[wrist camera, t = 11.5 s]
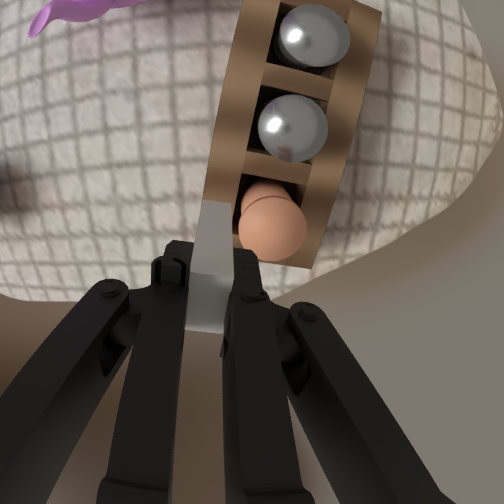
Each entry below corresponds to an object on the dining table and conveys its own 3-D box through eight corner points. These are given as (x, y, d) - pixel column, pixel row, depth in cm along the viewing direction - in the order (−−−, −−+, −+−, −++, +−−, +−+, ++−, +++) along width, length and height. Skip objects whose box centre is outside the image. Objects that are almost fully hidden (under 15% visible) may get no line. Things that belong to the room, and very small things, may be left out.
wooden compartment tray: (248, -11, 22) (250, -28, 17) (361, 21, 23) (382, 12, 19) (199, 229, 34) (194, 251, 30) (302, 246, 36) (311, 269, 32)
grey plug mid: (259, 88, 26) (266, 87, 20) (313, 101, 27) (335, 105, 21) (247, 141, 29) (252, 154, 23) (300, 152, 30) (318, 168, 24)
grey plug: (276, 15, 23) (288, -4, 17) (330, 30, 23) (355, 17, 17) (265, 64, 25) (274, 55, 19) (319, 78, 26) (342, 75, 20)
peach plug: (243, 170, 28) (246, 193, 23) (298, 181, 29) (315, 206, 23) (232, 221, 31) (233, 255, 25) (284, 230, 32) (296, 265, 26)
